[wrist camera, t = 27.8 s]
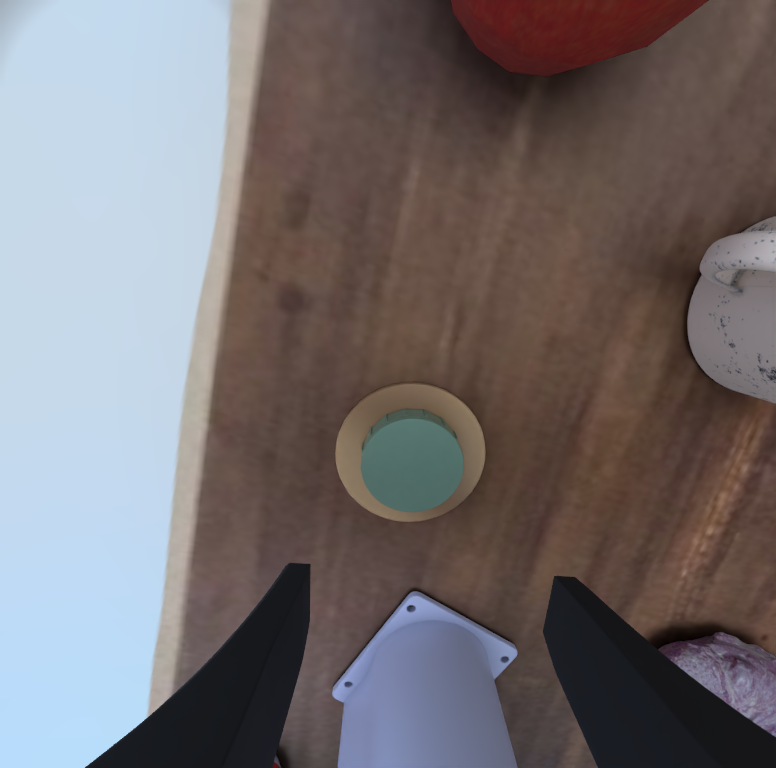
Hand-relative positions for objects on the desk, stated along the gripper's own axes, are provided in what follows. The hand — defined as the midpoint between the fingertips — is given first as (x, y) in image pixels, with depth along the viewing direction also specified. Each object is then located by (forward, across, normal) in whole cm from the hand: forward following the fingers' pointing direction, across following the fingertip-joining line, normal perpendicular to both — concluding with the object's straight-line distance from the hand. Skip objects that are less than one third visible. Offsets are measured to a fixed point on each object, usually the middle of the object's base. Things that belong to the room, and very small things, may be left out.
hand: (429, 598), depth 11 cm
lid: (+8, 0, 0) cm, 8 cm away
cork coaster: (+10, 0, 0) cm, 10 cm away
